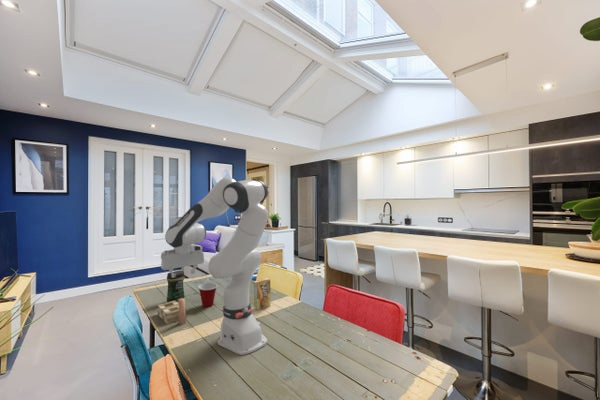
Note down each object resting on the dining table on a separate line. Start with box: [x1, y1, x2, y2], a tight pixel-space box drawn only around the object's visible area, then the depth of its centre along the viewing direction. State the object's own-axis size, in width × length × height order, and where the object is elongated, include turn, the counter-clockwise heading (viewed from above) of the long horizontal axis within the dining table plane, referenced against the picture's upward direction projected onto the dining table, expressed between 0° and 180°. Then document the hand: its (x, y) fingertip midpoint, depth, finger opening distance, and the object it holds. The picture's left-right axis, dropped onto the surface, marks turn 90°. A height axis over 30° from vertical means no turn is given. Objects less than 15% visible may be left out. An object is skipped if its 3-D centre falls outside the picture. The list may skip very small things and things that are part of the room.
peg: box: [178, 298, 186, 326], centre depth 128 cm, size 3×3×12 cm
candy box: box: [253, 278, 271, 311], centre depth 147 cm, size 9×4×15 cm, turn 129°
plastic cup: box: [197, 282, 218, 308], centre depth 150 cm, size 11×11×12 cm
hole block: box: [157, 301, 187, 325], centre depth 137 cm, size 16×9×5 cm, turn 45°
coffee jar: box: [166, 269, 186, 303], centre depth 157 cm, size 10×8×19 cm
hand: (183, 275), depth 130 cm, fingers open, 8 cm apart
